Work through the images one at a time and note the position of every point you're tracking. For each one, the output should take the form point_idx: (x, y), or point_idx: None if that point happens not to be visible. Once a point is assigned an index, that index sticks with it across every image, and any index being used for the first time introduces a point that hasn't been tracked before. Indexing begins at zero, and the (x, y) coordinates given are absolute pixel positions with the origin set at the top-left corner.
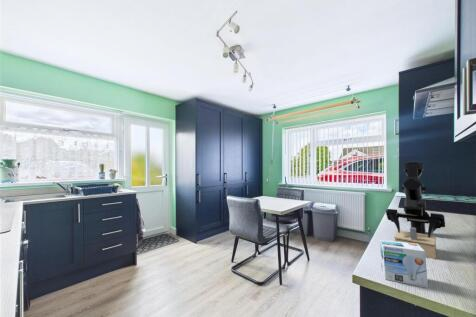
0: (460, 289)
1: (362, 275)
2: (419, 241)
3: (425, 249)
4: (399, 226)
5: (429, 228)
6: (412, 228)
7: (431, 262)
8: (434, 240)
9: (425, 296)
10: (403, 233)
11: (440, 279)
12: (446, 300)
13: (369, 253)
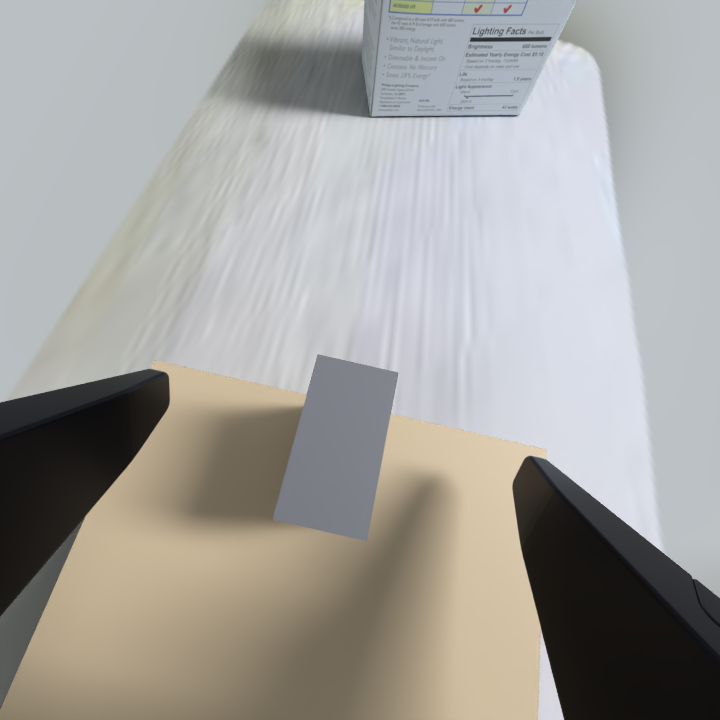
0: (247, 82)
1: (576, 54)
2: (293, 393)
3: None
4: (573, 616)
5: (18, 417)
6: (352, 416)
7: (266, 327)
8: (88, 530)
9: None
10: None
11: (293, 130)
12: (325, 8)
13: (620, 302)
